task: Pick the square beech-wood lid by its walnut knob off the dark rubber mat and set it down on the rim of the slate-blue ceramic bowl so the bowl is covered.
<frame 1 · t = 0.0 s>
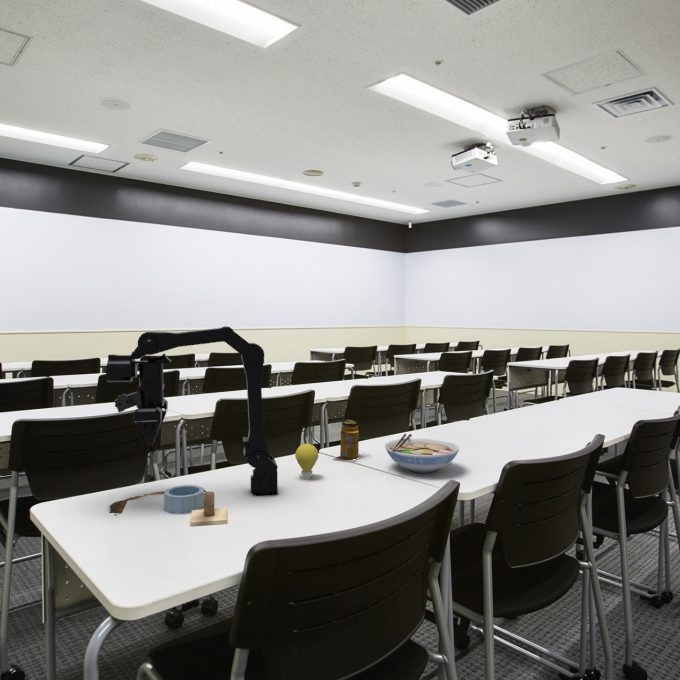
hand: (151, 443, 136), 15 cm above the table, fingers open, 9 cm apart
mat: (209, 520, 123), on the table
light bulb: (306, 478, 157), on the table
brown piece: (158, 502, 137), on the table
bowl: (184, 509, 131), on the table
lid: (209, 518, 123), point 1 cm above the table, touching mat
condiment: (348, 459, 181), on the table
ramen bowl: (421, 470, 167), on the table
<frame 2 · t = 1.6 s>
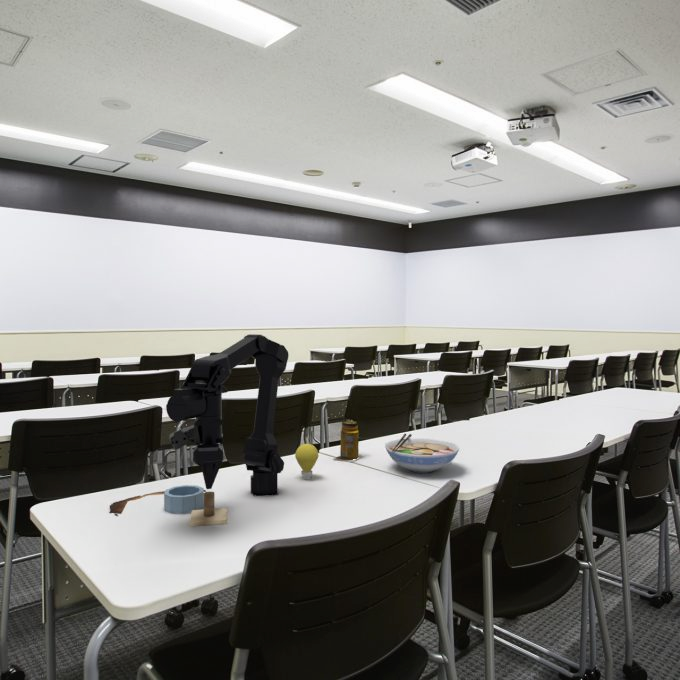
hand: (209, 482, 123), 9 cm above the table, fingers open, 9 cm apart
nothing on the table moved.
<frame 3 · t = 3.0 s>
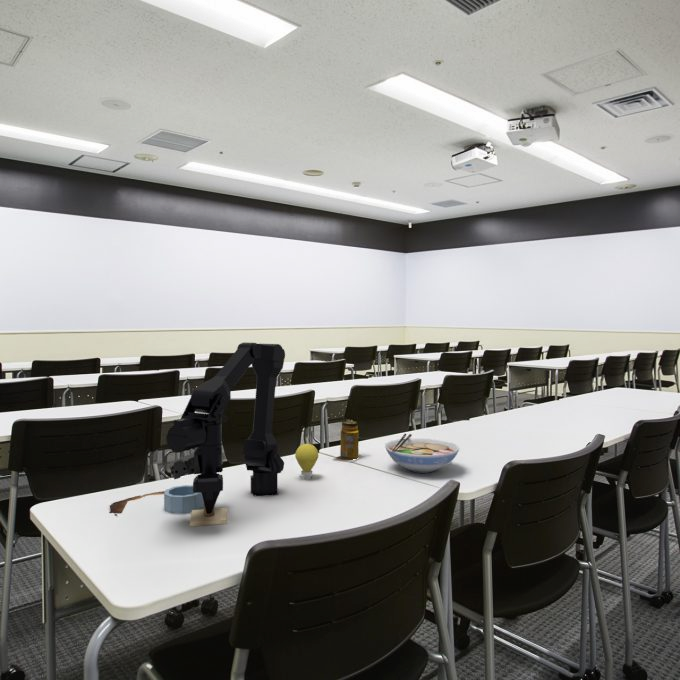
hand: (209, 511, 123), 2 cm above the table, fingers closed on lid, 2 cm apart
lid: (209, 518, 123), point 1 cm above the table, touching gripper, mat
everything else where it was.
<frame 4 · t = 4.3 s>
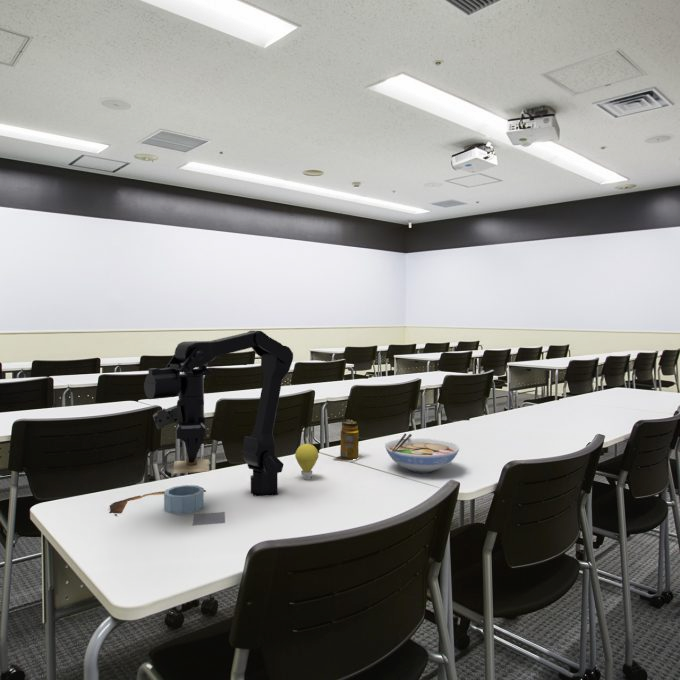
hand: (191, 461, 128), 12 cm above the table, fingers closed on lid, 2 cm apart
lid: (191, 467, 128), point 11 cm above the table, touching gripper
everything else where it was.
when the fingers open (8 cm above the table, at t = 5.5 s): lid drops 1 cm, resting on bowl.
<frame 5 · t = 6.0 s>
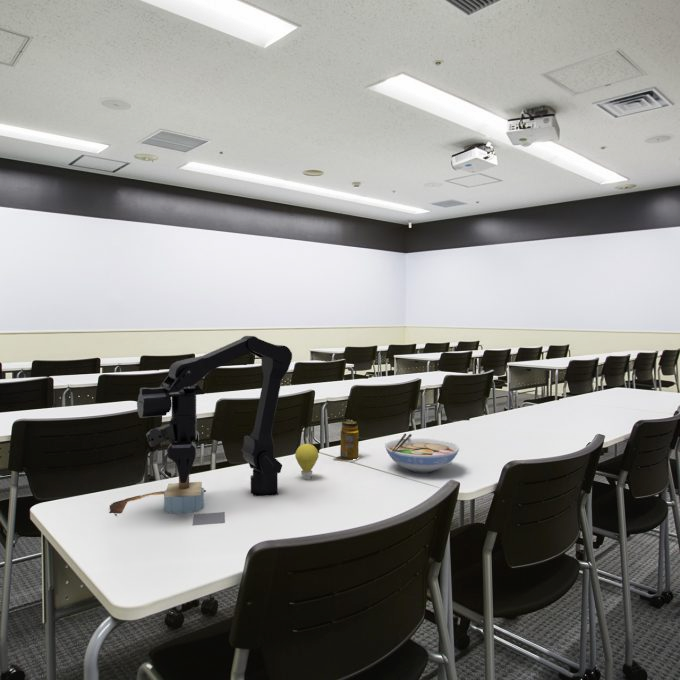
hand: (184, 478, 131), 8 cm above the table, fingers open, 7 cm apart
lid: (184, 490, 131), point 4 cm above the table, touching bowl
everything else where it was.
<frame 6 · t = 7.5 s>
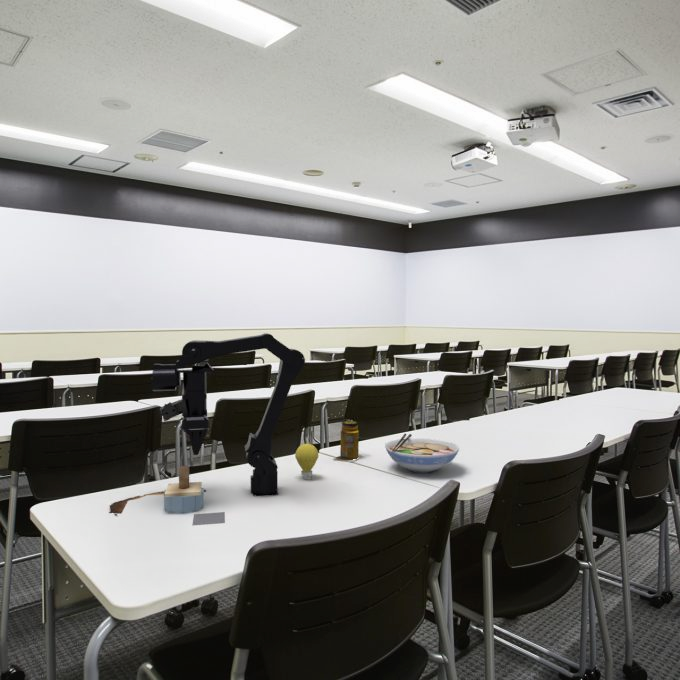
hand: (195, 450, 139), 12 cm above the table, fingers open, 9 cm apart
nothing on the table moved.
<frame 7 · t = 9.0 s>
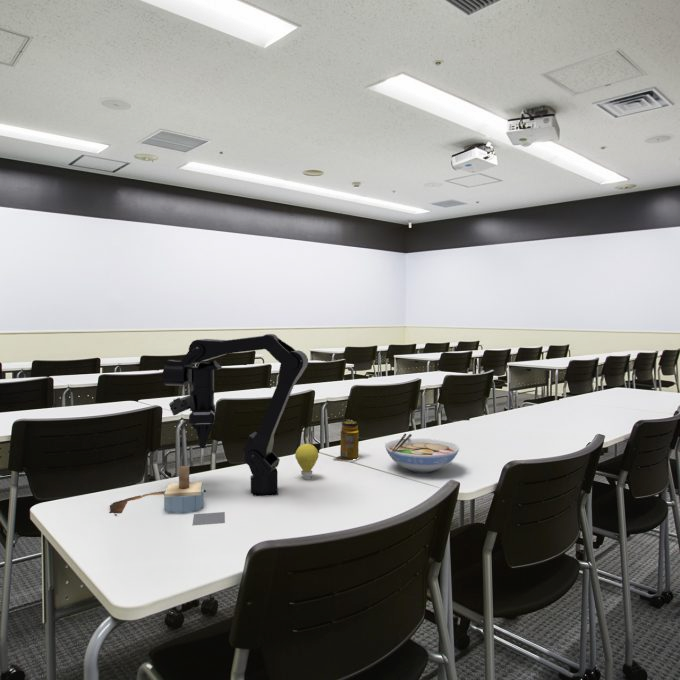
hand: (203, 444, 145), 12 cm above the table, fingers open, 9 cm apart
nothing on the table moved.
at the end: lid 0.0 cm off-centre on the bowl, point 4.5 cm above the bowl's base; lid tilted 0°; the gripper is holding nothing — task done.
